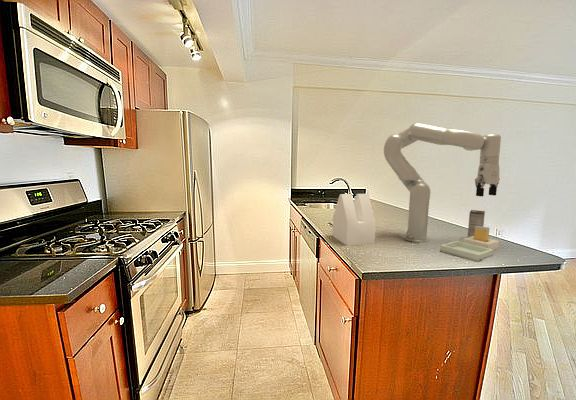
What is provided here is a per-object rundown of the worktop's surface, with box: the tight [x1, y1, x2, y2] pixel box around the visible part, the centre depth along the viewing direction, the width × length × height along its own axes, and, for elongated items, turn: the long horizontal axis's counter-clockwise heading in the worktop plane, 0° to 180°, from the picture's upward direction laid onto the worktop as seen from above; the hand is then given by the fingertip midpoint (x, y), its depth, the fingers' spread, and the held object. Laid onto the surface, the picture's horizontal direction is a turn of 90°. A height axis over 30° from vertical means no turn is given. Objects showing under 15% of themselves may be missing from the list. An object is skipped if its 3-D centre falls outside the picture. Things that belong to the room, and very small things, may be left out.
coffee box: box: [466, 209, 486, 238], centre depth 146 cm, size 9×6×16 cm
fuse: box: [474, 225, 491, 242], centre depth 134 cm, size 3×5×10 cm, turn 32°
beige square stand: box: [462, 236, 500, 251], centre depth 134 cm, size 11×11×4 cm
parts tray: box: [439, 240, 495, 263], centre depth 125 cm, size 14×16×3 cm
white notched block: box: [332, 193, 377, 246], centre depth 146 cm, size 19×15×25 cm
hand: (486, 195), depth 134 cm, fingers open, 9 cm apart
